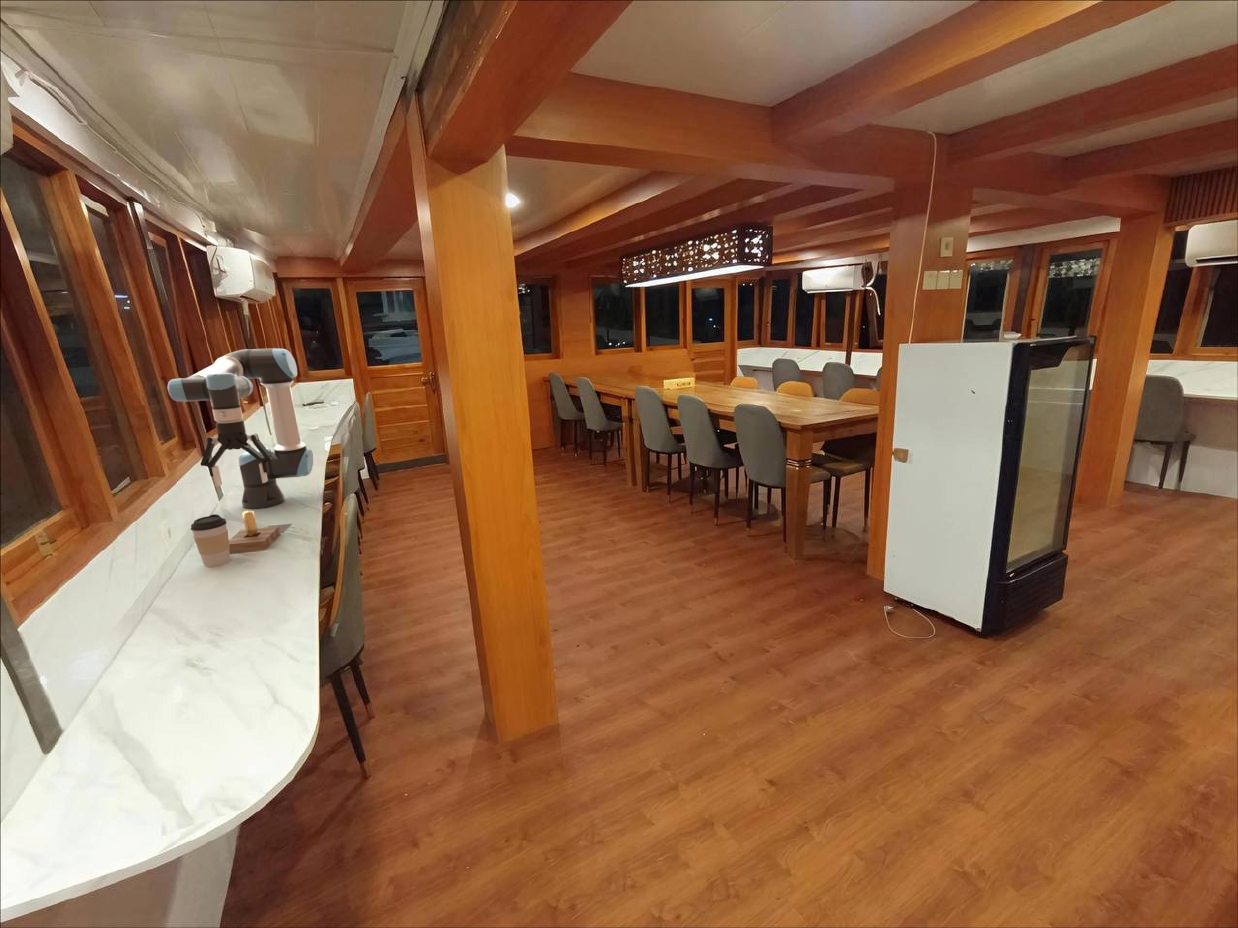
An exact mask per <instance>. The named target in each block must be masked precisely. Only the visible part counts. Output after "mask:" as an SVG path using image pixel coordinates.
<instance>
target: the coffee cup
mask: <svg viewBox="0 0 1238 928" xmlns="http://www.w3.org/2000/svg"><path fill="white" fill-rule="evenodd" d="M190 526H191V527H190V531H192V533H193V539H194V542H195V545H196V548H197V551H198V553H199V555H200V558H201V560H202V564H203V565H204V567H207V568H208V567H209V568H212V567H218V566H221V565H225V564H227V563H229V562H230V561H231V553H230V552H229V540H230V539H229V532H228V531H229V530H228V528H227V520H226V519H225V518H223V517H222V516H220V515H219V514H216V513H215V514H214V513H213V514H210V515H207V516H204V517H200V518H197V519H195V520H193V523H192V524H190Z"/></svg>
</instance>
